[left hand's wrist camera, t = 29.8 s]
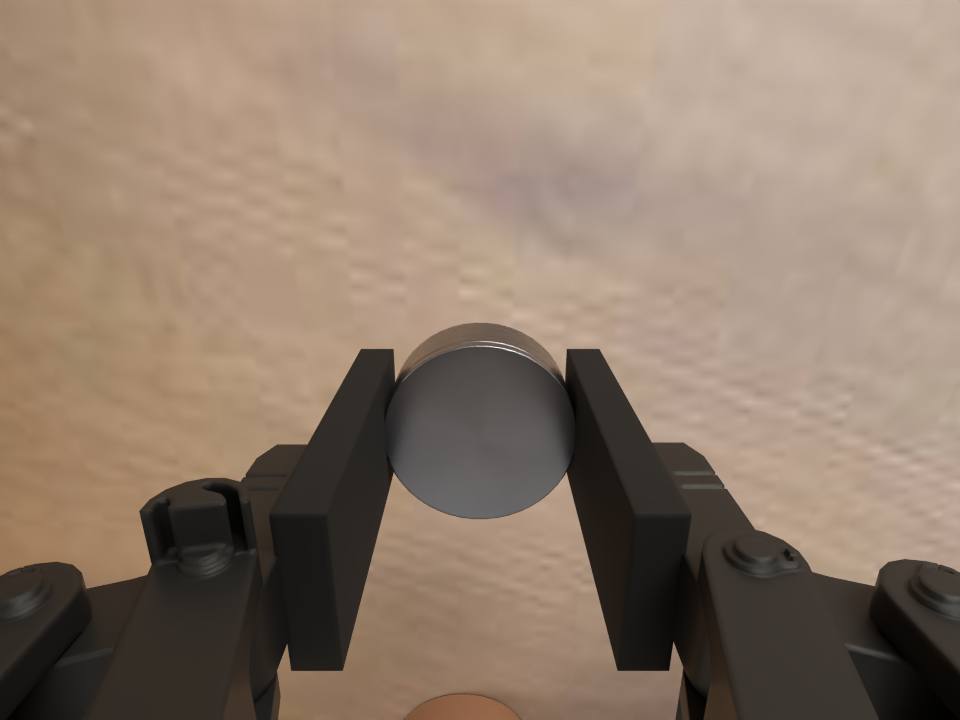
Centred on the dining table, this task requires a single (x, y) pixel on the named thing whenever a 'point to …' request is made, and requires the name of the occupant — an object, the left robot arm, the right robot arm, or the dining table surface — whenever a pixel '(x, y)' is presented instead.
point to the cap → (480, 422)
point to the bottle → (462, 709)
